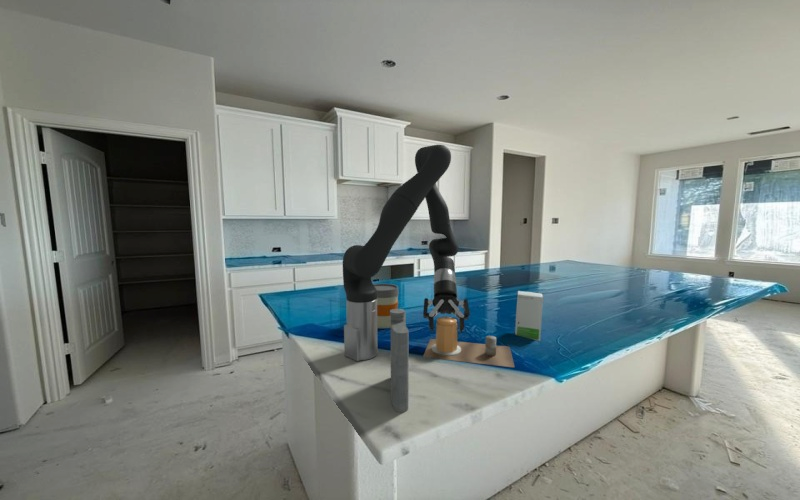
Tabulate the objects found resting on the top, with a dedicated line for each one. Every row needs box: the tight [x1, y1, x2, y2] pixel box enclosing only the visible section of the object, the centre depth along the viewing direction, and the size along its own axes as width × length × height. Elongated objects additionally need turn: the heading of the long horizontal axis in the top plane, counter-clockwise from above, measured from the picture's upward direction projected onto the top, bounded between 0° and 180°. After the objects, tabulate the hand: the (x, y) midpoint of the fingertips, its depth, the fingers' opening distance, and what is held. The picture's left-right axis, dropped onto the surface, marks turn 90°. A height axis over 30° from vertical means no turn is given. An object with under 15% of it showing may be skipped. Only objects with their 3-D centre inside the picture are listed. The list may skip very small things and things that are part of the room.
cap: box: [435, 316, 458, 353], centre depth 93 cm, size 6×6×9 cm
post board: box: [422, 335, 515, 368], centre depth 91 cm, size 25×14×6 cm, turn 75°
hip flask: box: [390, 308, 410, 413], centre depth 72 cm, size 16×4×20 cm, turn 2°
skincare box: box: [514, 290, 544, 342], centre depth 106 cm, size 8×7×16 cm
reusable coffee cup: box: [373, 283, 400, 329], centre depth 119 cm, size 13×13×15 cm
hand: (446, 330), depth 91 cm, fingers open, 8 cm apart
